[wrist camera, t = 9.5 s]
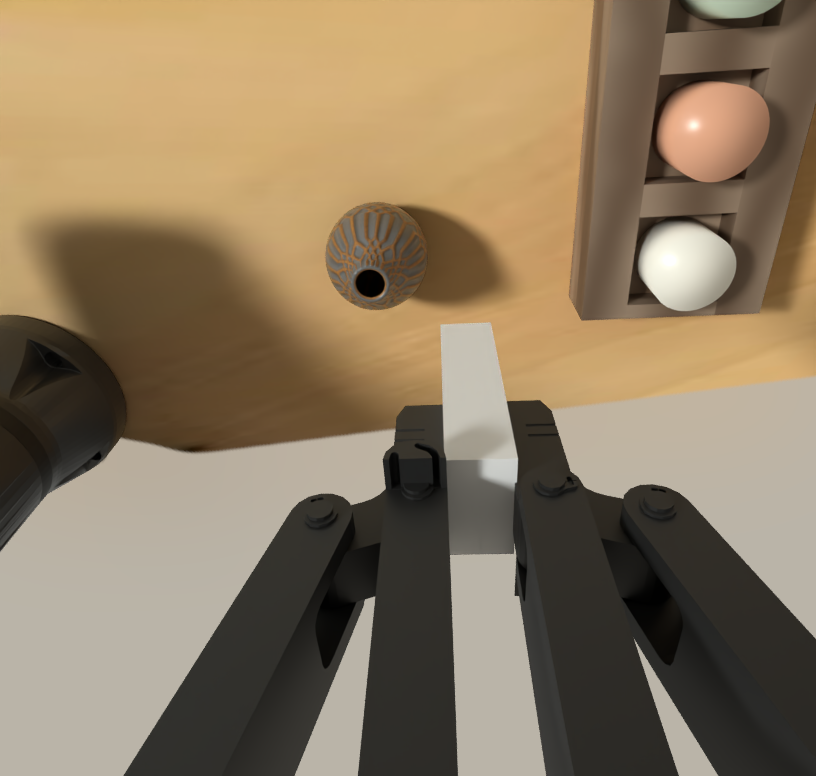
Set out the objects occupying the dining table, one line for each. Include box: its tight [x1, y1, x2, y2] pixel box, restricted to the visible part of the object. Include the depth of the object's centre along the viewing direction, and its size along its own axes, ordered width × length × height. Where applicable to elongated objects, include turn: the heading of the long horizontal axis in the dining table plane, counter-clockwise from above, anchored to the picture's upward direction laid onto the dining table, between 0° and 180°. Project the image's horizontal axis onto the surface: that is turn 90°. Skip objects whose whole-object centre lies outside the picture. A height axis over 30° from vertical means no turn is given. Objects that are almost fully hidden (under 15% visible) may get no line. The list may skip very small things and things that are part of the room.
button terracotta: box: [651, 80, 770, 182], centre depth 34 cm, size 5×5×4 cm
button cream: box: [634, 216, 736, 311], centre depth 38 cm, size 5×5×4 cm
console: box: [569, 0, 816, 320], centre depth 36 cm, size 12×24×4 cm, turn 4°
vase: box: [326, 202, 428, 310], centre depth 39 cm, size 7×7×9 cm
